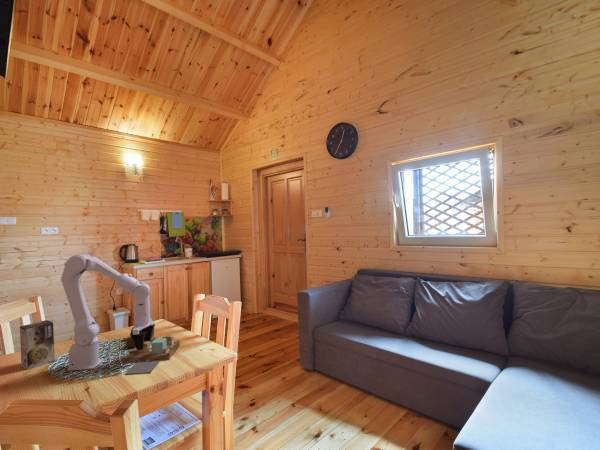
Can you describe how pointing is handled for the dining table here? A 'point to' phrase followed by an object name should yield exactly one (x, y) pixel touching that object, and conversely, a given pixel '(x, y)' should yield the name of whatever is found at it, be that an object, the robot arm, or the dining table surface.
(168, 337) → the strip
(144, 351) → the strip
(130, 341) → the kendama
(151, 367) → the felt pad
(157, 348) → the cube
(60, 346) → the dining table surface
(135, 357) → the lane board
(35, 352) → the coffee box
